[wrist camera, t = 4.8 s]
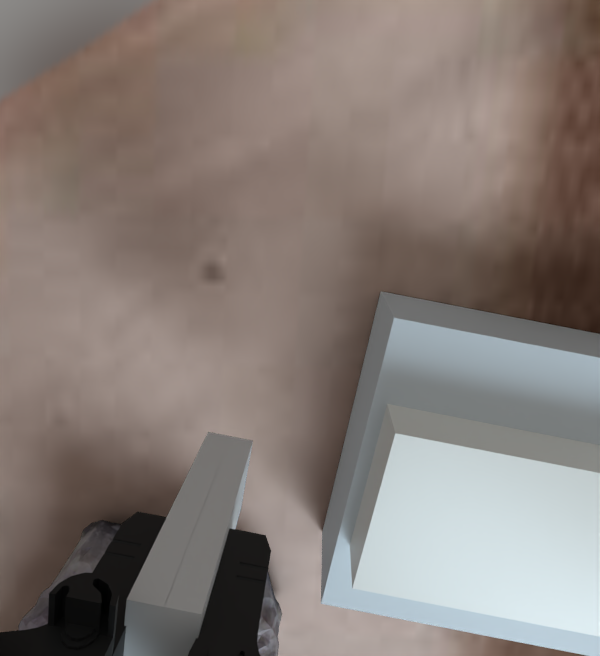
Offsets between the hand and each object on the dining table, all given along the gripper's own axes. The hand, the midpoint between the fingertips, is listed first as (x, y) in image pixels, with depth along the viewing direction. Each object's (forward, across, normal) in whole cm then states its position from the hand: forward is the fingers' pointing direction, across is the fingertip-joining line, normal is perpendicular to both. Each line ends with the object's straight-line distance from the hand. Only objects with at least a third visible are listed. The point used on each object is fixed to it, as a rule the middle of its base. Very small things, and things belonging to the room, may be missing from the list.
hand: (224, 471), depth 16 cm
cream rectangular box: (+1, +10, 0) cm, 10 cm away
